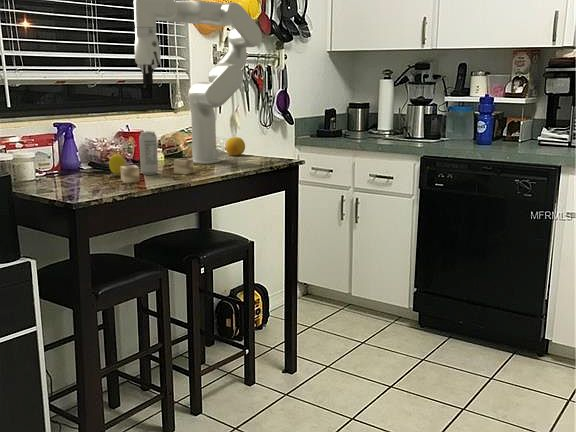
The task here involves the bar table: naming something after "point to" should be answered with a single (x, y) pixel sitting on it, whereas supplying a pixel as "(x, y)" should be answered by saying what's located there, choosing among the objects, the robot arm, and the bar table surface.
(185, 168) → the maple block
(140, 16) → the robot arm
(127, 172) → the maple block
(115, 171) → the lemon
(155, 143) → the energy drink can
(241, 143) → the fruit
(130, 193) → the bar table surface
